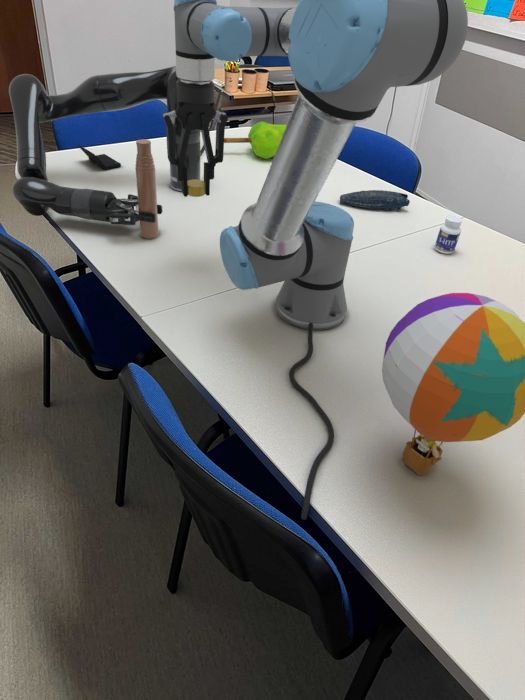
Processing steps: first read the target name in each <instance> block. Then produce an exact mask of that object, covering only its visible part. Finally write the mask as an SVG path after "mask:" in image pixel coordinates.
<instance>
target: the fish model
mask: <svg viewBox="0 0 525 700" xmlns="http://www.w3.org/2000/svg"><path fill="white" fill-rule="evenodd" d="M410 202H411V201H410V200H409V195H408V194H406V193H403V192H402V193H401V192H399V191H392V190H382V189H380V190H379V189H377V190H376V189H368V190H360V191H352V192H348V193H344V194H341V195H340V196H339V203H343V204H346V205H349V206H351V207H357V208H362V209H371V210H372V209H374V210H384V211H385V210H386V211H391V210H394V209H397V210H402V208H404V207H408V206H409V205H410Z"/></svg>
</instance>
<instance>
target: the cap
mask: <svg viewBox="0 0 525 700" xmlns="http://www.w3.org/2000/svg"><path fill="white" fill-rule="evenodd" d="M187 192H188V196H189V197H192V198H198V197H199V198H200V197H204V196H206V194H205V193H206V186H205V182H204V180H202V179H200V180H189V181H187Z"/></svg>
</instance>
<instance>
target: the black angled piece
mask: <svg viewBox="0 0 525 700" xmlns="http://www.w3.org/2000/svg"><path fill="white" fill-rule="evenodd" d="M77 147H78V148H79V149H80V150H81V151H82V152H83V153H84V154H85V156H87V157H88V160H89V161H90V162H92V163H93V164H96V165H97V166H98V167H99V168H102V169H103V170H111V169H115V168H116V169H117V168H121V167H122V164H121V163H120V162H119V161H117V160H116V159H114V158H112V157H110V156H109V155H107V154H105V153H102V154H95V153H93V152H92V151H90V150H88V149H87V148H85V147H83V146H82V145H80V144H77Z"/></svg>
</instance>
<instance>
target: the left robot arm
mask: <svg viewBox="0 0 525 700" xmlns="http://www.w3.org/2000/svg"><path fill="white" fill-rule="evenodd" d="M178 79H179V78H178V77H177V76H176V65H173V66H169V67H165V68H161V69H156V70H151V71H140V72H139V71H134V72H114V73H105V74H96V75H92V76H89V77H88V78H86V79H85V80H83V81H82V82H81V83H79V85H77V86H76V87H75V88H74V89H72V90H71V91H68V92H65V93H61V94H55V95H53V94H52V95H49V94H48V92H47V90H46V89H45V86H44V84H42V82H41V81H40V80H39V79H38V77H36V76H34V75H33V74H30V73H22V74H19V75H16V76H15V77H14V78H13V79H12V80H11V81H10V82H9V86H8V95H9V99H10V103H11V108H12V112H13V121H14V127H15V136H16V169H17V173H18V176H19V178H18V179H16V180H15V181H14V182H13V184H12V186H11V187H12V194H13V196H14V198H15V200H16V201H18V203H19V204H20V205H21V206H22V208H24V210H25V211H26V212H27V213H29V214H30V215H31V216H36V217H40V216H41V217H42V216H43V215H45V214H47V213H48V212H49V210H50V209H51V210H52V211H53V212H55V213H56V214H59V215H61V216H69V217H75V218H80V219H85V220H88V221H89V220H90V221H98V222H103V223H104V222H105V223H110V225H116V226H135V225H136V223H140V221H145V222H152V223H155V221H156V215H155V214H154V213H148V212H139V208H138V195H135V194H130V193H129V194H127V198H117V197H116V196H115V194H114V193H113V192H112V191H106V190H100V189H91V188H77V187H71V186H70V187H69V186H62V185H59V184H57V183H53V182H51V181H49V180H48V175H47V153H46V146H45V142H44V137H43V134H42V130H41V126H40V123H41V124H42V123H46V122H51V121H55V120H60V119H63V118H64V119H65V118H68V117H74V116H82V115H88V114H95V113H107V112H109V113H110V112H117V111H118V112H119V111H123V110H127V109H131V108H134V107H137V106H140V105H142V104H145V103H149V102H151V101H158V100H166V113H169V112H171V111H174V109H175V106H176V103H177V92H176V81H177V80H178ZM173 127H174V144H175V157H177V153H178V148H179V142H180V137H181V132H182V123H181V121H180V120H179V118H178V117H176V118H175V123H174V124H173ZM208 127H209V128H210V124H209V125H208ZM203 152H205V147H204V144H203V145H202V147H201V130H198V129H195V130H191V134H190V136H189V141H188V146H187V151H186V156H185V161H184V163H185V165H186V166H187V181H189V180H201V155H202V153H203ZM169 186H170V188H171V189H172V190H174V191H176V192H177V191H178V192H182V181H179V180H178V178H177V165H174V164H170V163H169ZM157 212H158V215H162V213H163V206H162V205H161V204H157Z"/></svg>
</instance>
